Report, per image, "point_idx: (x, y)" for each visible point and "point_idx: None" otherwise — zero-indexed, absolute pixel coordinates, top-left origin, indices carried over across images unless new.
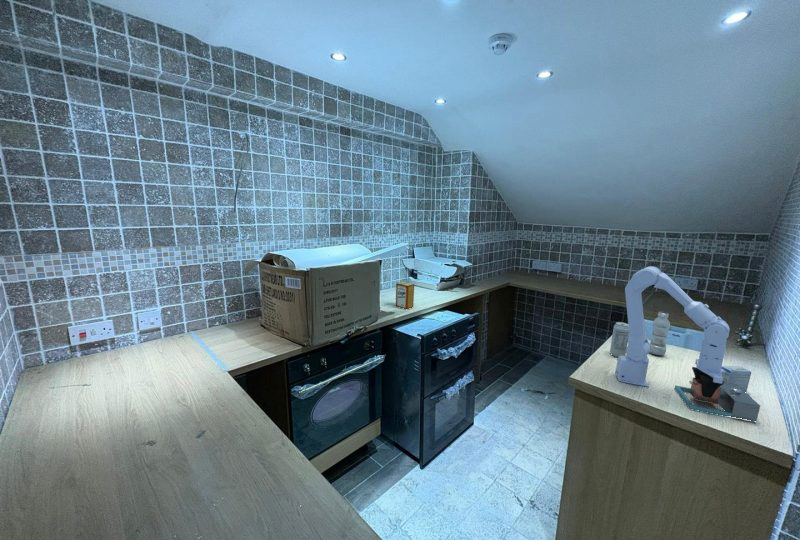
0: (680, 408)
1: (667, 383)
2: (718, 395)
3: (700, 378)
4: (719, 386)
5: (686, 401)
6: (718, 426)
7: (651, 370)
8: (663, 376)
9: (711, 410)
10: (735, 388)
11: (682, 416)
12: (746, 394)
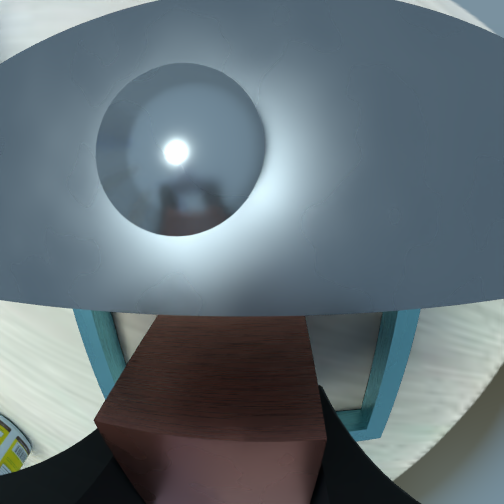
0: (374, 442)
1: (80, 411)
2: (308, 356)
3: (139, 501)
4: (409, 497)
5: None
6: (500, 335)
7: (4, 401)
8: (18, 387)
9: (405, 354)
10: (129, 148)
11: (439, 436)
12: (204, 8)
